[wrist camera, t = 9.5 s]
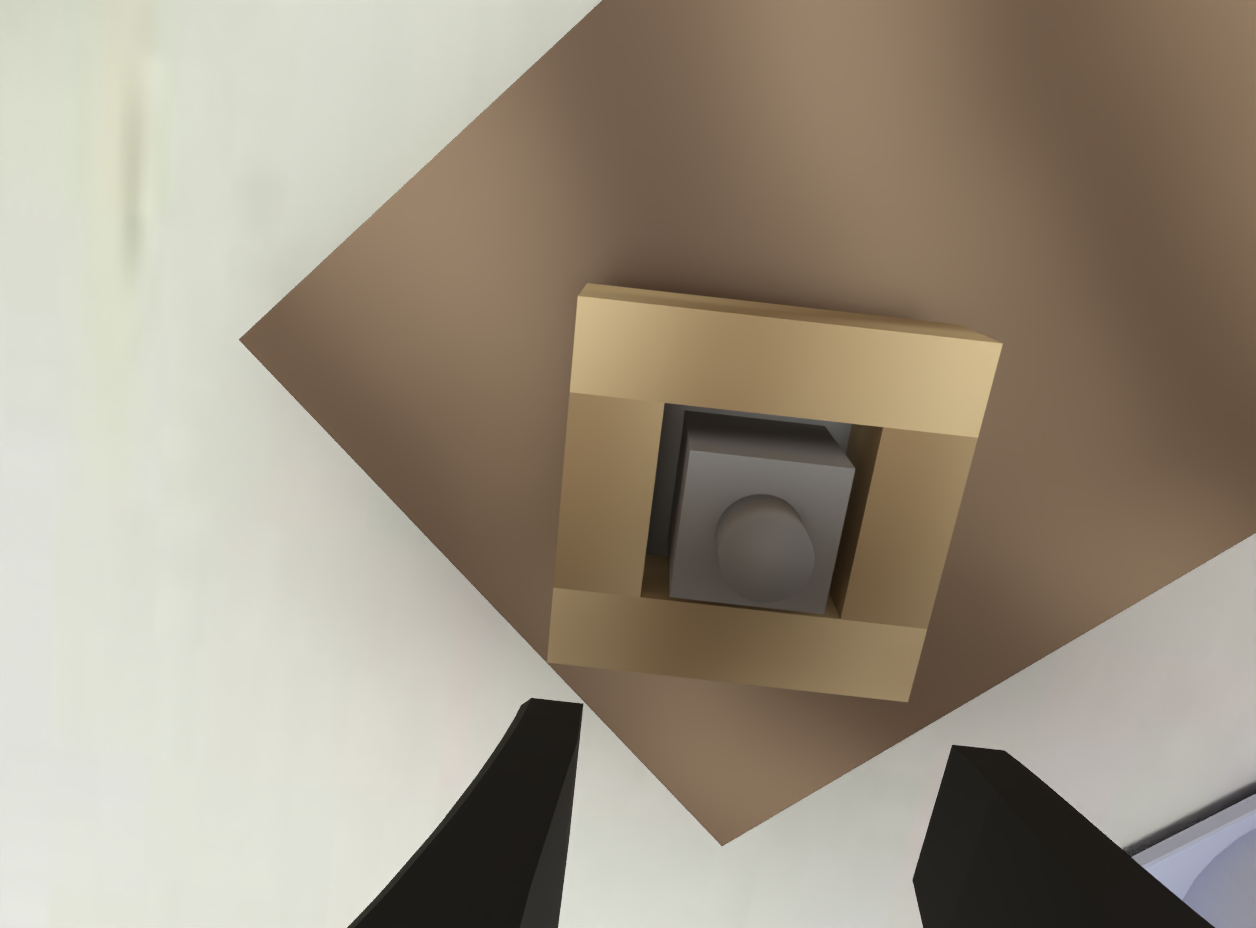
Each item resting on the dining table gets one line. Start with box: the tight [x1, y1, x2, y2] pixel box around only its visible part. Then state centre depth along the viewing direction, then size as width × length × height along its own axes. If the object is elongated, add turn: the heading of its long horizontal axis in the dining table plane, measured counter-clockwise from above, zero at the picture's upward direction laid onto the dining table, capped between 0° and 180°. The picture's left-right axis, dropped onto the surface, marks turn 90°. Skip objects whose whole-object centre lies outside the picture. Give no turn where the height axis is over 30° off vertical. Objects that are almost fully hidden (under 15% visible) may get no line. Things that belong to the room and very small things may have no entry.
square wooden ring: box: [547, 283, 1003, 702], centre depth 12 cm, size 6×6×2 cm
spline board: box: [239, 0, 1256, 846], centre depth 11 cm, size 27×14×6 cm, turn 129°
